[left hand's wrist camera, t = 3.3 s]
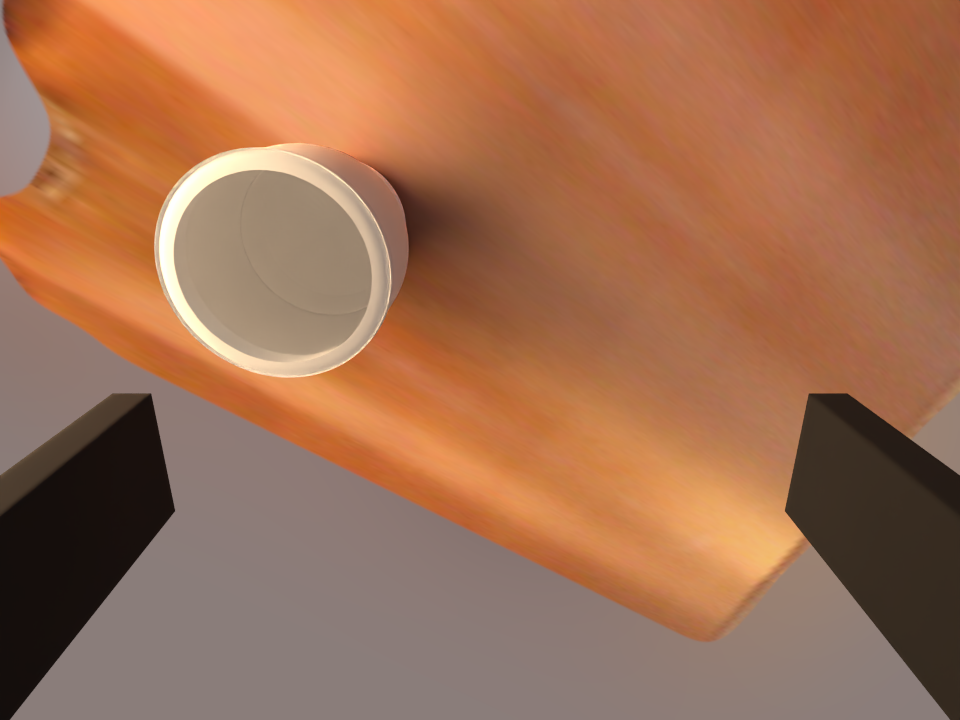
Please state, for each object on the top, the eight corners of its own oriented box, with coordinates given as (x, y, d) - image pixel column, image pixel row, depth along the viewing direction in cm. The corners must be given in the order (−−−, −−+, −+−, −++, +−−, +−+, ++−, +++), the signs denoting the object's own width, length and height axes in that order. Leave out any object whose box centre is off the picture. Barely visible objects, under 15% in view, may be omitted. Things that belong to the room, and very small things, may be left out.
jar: (236, 238, 42) (112, 294, 28) (314, 104, 39) (220, 92, 25) (369, 326, 44) (317, 420, 30) (452, 206, 41) (438, 247, 27)
